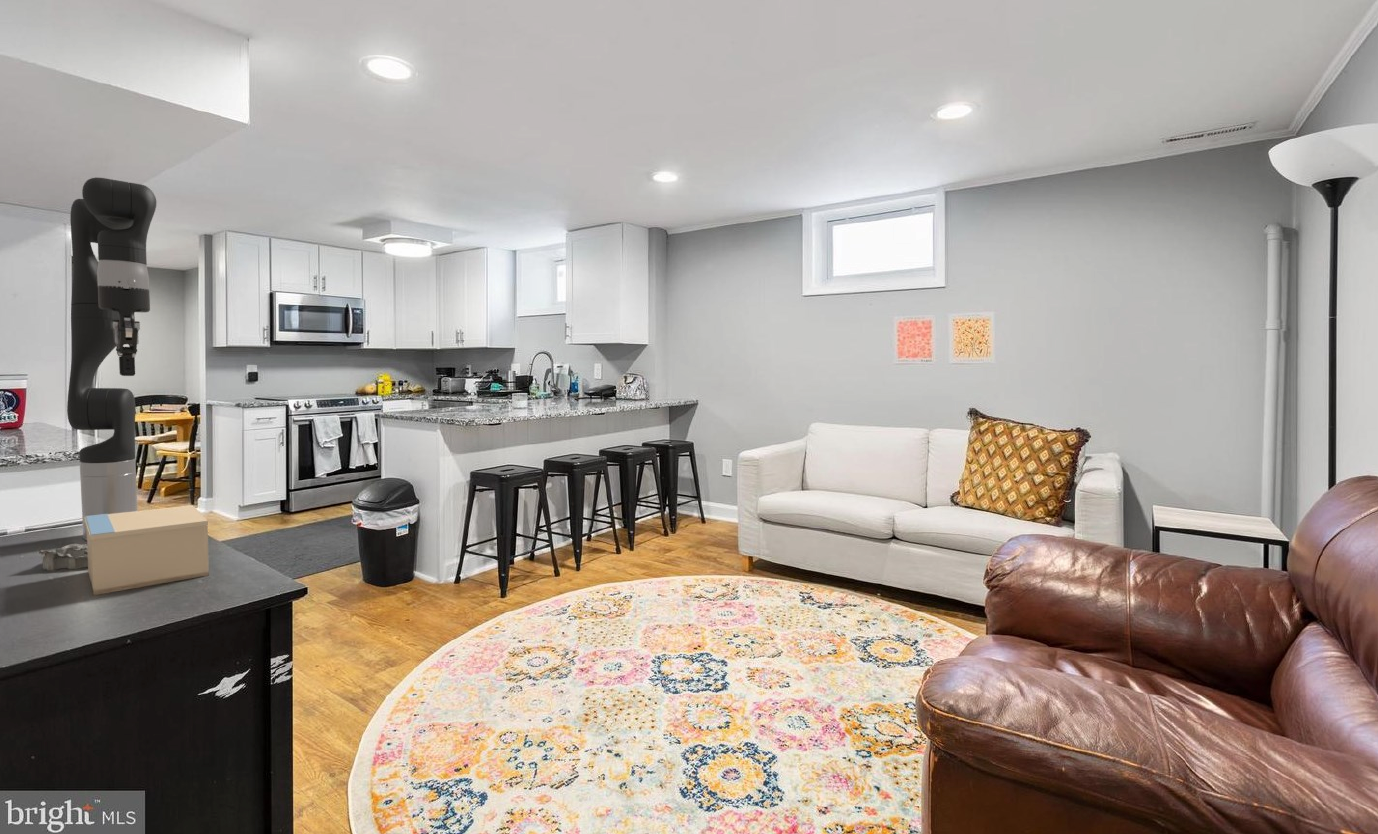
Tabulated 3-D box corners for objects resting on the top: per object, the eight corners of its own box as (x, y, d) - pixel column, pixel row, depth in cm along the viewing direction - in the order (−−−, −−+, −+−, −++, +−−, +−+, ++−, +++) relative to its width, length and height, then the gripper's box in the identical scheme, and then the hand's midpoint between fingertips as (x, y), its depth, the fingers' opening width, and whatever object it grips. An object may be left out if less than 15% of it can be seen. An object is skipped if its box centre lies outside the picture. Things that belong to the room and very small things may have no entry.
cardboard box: (88, 571, 121) (86, 520, 120) (194, 555, 132) (192, 509, 131) (93, 595, 110) (91, 539, 109) (209, 575, 121) (207, 524, 120)
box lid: (84, 520, 120) (84, 516, 120) (192, 508, 132) (192, 504, 131) (89, 539, 109) (89, 534, 108) (207, 524, 120) (207, 520, 120)
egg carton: (35, 572, 120) (34, 551, 120) (63, 560, 128) (62, 540, 127) (103, 569, 123) (102, 548, 123) (126, 557, 130) (125, 538, 130)
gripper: (95, 286, 126) (99, 374, 127) (100, 282, 117) (104, 376, 118) (145, 290, 131) (148, 374, 133) (153, 286, 122) (156, 377, 124)
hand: (127, 375), depth 125 cm, fingers closed
